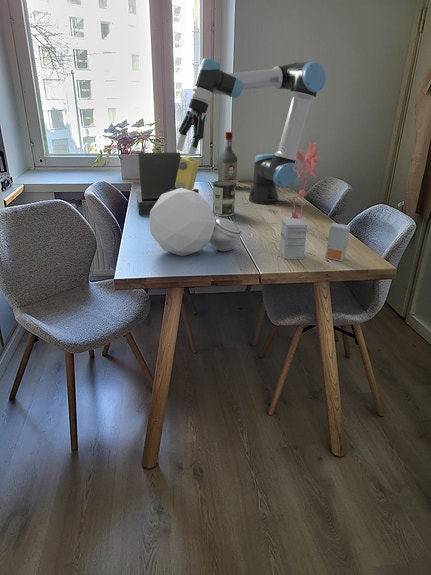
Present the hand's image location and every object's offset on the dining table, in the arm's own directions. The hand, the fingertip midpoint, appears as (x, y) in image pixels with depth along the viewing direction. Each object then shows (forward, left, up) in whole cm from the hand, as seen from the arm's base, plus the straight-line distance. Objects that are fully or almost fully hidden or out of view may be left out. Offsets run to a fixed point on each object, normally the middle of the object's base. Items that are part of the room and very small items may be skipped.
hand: (184, 152), depth 181 cm
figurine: (-53, -7, -28) cm, 60 cm away
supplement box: (-53, +27, -28) cm, 66 cm away
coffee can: (-13, -13, -28) cm, 34 cm away
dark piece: (+16, -9, -28) cm, 34 cm away
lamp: (-21, +37, -28) cm, 51 cm away
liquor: (+3, -64, -28) cm, 70 cm away
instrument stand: (-2, +7, -28) cm, 29 cm away
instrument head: (-2, +7, -14) cm, 16 cm away
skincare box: (-68, +23, -28) cm, 77 cm away
